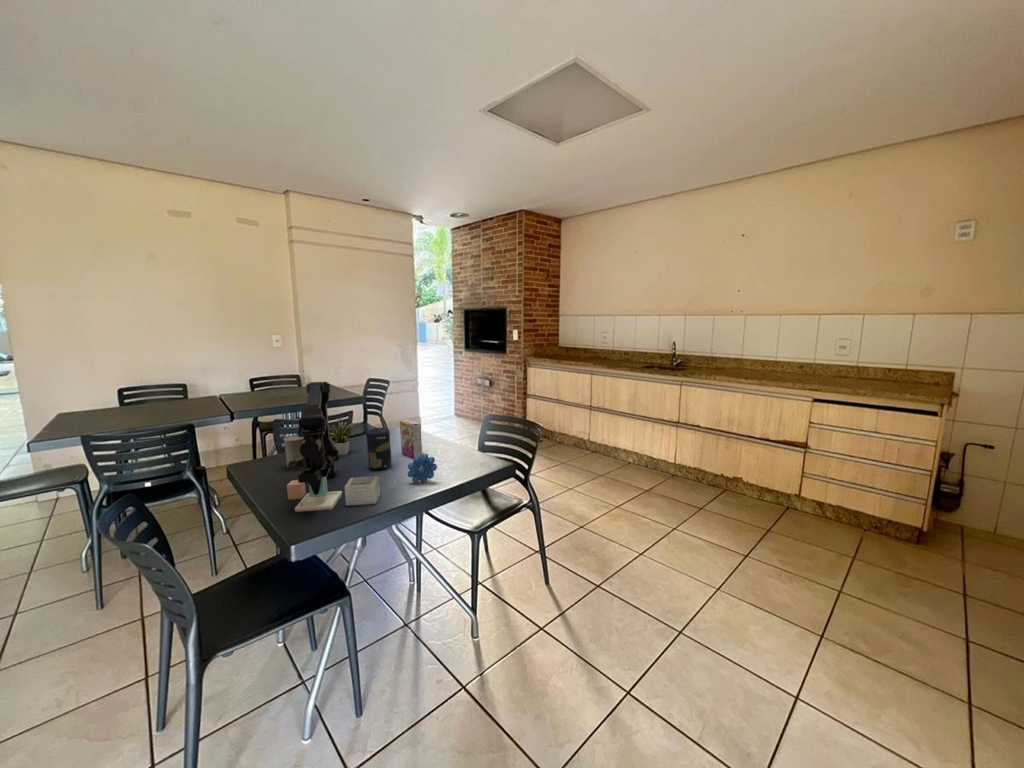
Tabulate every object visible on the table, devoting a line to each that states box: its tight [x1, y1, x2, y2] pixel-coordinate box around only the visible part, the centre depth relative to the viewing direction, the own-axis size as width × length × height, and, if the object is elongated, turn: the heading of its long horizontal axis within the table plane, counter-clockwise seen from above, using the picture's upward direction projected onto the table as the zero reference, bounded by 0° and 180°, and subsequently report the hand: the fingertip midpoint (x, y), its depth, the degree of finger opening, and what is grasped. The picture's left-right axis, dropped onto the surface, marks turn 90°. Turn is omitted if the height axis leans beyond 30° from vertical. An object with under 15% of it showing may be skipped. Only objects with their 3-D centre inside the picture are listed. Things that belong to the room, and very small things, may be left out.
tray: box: [294, 490, 343, 513], centre depth 144 cm, size 12×12×1 cm
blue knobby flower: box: [407, 453, 438, 484], centre depth 161 cm, size 12×7×12 cm, turn 92°
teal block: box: [308, 477, 329, 498], centre depth 144 cm, size 4×4×6 cm
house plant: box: [329, 421, 356, 457], centre depth 195 cm, size 14×14×16 cm
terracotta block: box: [286, 479, 307, 501], centre depth 150 cm, size 4×4×6 cm
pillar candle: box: [283, 433, 305, 471], centre depth 180 cm, size 10×10×15 cm
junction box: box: [344, 475, 381, 507], centre depth 146 cm, size 8×10×7 cm
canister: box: [365, 427, 392, 471], centre depth 177 cm, size 10×10×18 cm
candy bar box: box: [399, 419, 423, 459], centre depth 193 cm, size 11×5×16 cm, turn 45°
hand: (318, 491), depth 144 cm, fingers closed on teal block, 4 cm apart
